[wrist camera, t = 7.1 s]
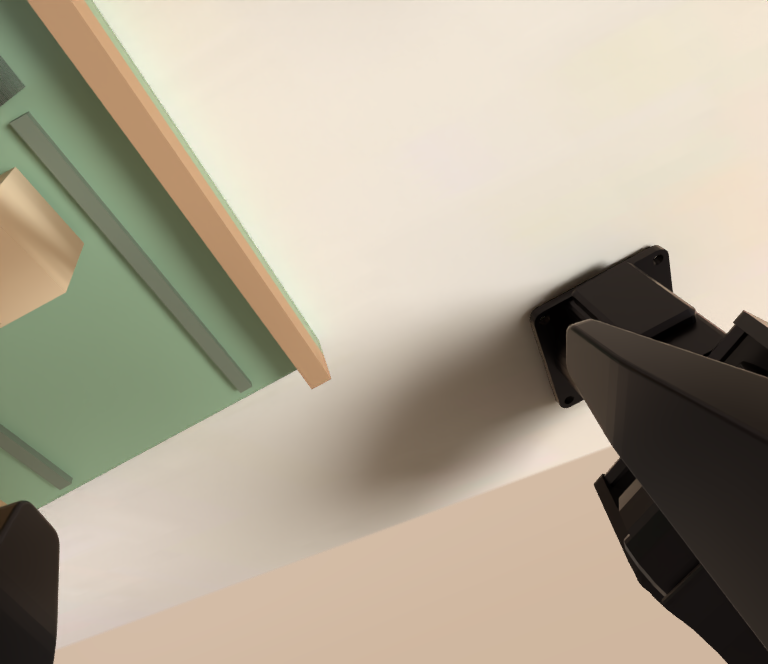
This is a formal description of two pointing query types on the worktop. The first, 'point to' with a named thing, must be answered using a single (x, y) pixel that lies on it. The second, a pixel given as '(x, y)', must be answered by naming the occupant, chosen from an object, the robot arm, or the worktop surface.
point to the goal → (8, 82)
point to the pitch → (124, 268)
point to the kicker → (31, 249)
